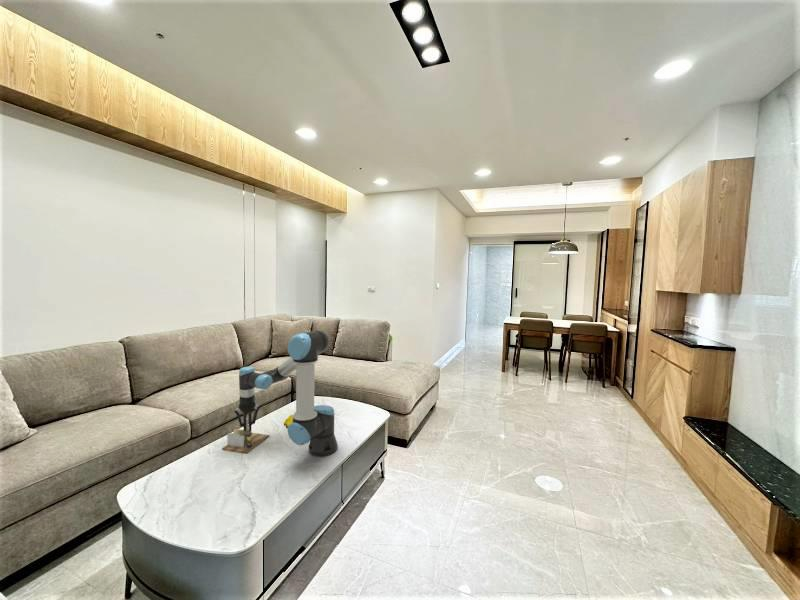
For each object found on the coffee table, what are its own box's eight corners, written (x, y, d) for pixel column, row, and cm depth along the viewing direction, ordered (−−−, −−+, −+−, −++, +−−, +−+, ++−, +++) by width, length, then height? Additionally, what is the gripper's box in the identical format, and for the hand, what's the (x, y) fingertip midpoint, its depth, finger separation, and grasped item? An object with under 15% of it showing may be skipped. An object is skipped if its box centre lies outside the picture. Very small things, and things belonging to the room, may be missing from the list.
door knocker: (314, 424, 205) (314, 418, 205) (289, 431, 196) (289, 424, 195) (304, 415, 218) (304, 409, 218) (280, 421, 209) (280, 415, 208)
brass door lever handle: (254, 443, 177) (254, 431, 177) (249, 447, 173) (249, 434, 173) (235, 440, 180) (234, 428, 179) (229, 444, 176) (229, 432, 175)
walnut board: (269, 436, 188) (269, 435, 188) (246, 453, 169) (246, 451, 169) (246, 433, 191) (246, 432, 191) (222, 450, 173) (222, 448, 173)
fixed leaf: (252, 445, 176) (252, 430, 175) (247, 449, 172) (247, 433, 171) (233, 442, 178) (232, 427, 178) (227, 446, 174) (227, 430, 174)
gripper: (258, 391, 186) (259, 431, 187) (233, 395, 179) (233, 437, 181) (260, 395, 179) (261, 437, 181) (234, 399, 173) (235, 443, 174)
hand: (247, 437), depth 181 cm, fingers closed
